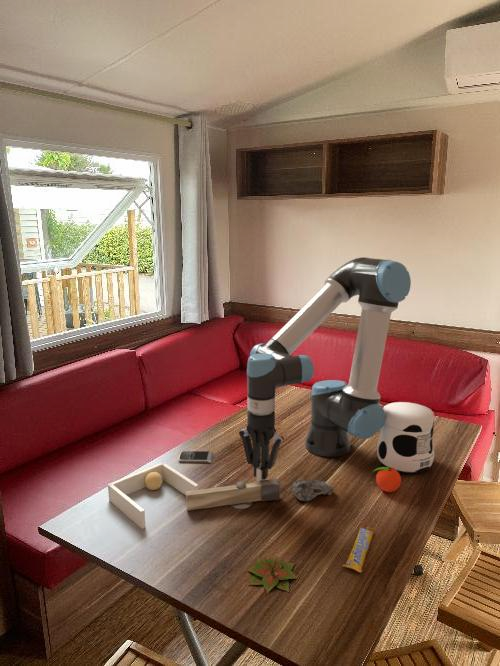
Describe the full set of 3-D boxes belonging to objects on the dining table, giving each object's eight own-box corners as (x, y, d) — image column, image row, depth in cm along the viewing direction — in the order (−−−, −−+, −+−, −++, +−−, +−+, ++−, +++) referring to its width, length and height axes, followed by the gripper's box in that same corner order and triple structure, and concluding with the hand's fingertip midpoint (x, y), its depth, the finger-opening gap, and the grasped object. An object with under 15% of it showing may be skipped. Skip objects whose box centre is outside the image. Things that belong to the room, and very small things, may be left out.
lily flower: (302, 562, 113) (303, 545, 112) (295, 601, 102) (295, 582, 101) (252, 554, 116) (251, 537, 115) (239, 591, 104) (238, 573, 103)
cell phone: (180, 454, 163) (180, 450, 163) (213, 455, 163) (213, 451, 163) (177, 464, 157) (177, 460, 157) (212, 464, 157) (211, 460, 157)
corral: (198, 500, 136) (198, 484, 135) (142, 528, 124) (140, 511, 123) (163, 477, 149) (162, 462, 148) (109, 500, 137) (107, 484, 136)
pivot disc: (254, 498, 137) (254, 497, 137) (248, 510, 132) (248, 509, 132) (234, 495, 139) (234, 494, 139) (227, 507, 133) (227, 506, 133)
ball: (159, 470, 146) (158, 487, 145) (143, 470, 143) (141, 488, 143) (165, 473, 141) (163, 491, 141) (148, 474, 139) (147, 492, 138)
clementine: (370, 493, 139) (371, 471, 138) (373, 481, 146) (374, 459, 144) (399, 499, 137) (401, 476, 135) (401, 486, 143) (402, 464, 141)
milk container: (381, 447, 167) (385, 397, 162) (435, 457, 159) (440, 406, 155) (370, 470, 152) (373, 416, 147) (429, 483, 144) (434, 427, 140)
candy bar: (359, 528, 125) (359, 522, 124) (375, 533, 123) (376, 526, 122) (341, 571, 110) (342, 564, 109) (360, 577, 108) (361, 570, 108)
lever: (279, 499, 136) (279, 482, 135) (187, 511, 130) (186, 494, 129) (276, 492, 139) (276, 476, 138) (186, 505, 133) (185, 488, 132)
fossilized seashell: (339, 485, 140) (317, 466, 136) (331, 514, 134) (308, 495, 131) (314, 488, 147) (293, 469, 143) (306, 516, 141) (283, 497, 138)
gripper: (233, 411, 133) (234, 488, 139) (277, 420, 127) (276, 500, 133) (246, 401, 140) (246, 476, 145) (288, 409, 134) (287, 486, 140)
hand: (260, 487), depth 139 cm, fingers closed
